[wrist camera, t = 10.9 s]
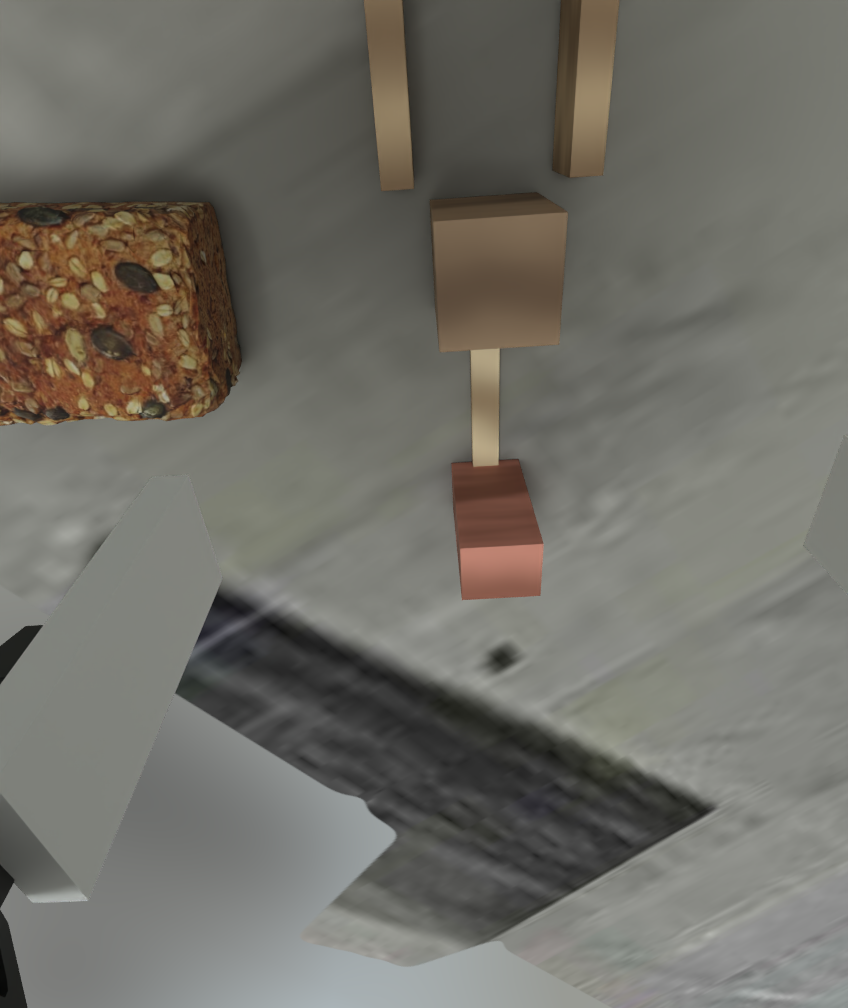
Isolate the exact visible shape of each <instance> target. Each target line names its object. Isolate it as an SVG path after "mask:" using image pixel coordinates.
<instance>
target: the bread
mask: <svg viewBox="0 0 848 1008" xmlns="http://www.w3.org/2000/svg"><path fill="white" fill-rule="evenodd" d="M236 335H237V328H236V320H235V316H234V312H233V309H232V307H231V298H230V292H229V288H228V284H227V279H226V266H225V257H224V252H223V247H222V243H221V238H220V232H219V227H218V221H217V218H216V215H215V211H214V208H213V207H212V205H211V204H210V203H209V202H196V203H193V202H123V203H106V202H73V203H20V202H14V203H0V426H2V425H10V424H15V423H19V422H20V423H26V424H30V425H31V424H33V423H35V422H37V423H40V424H43V425H54V424H58V423H61V422H64V421H67V422H72V421H77V420H83V419H101V418H108V417H110V418H113V419H115V420H122V421H137V420H148V419H161V420H164V421H170V420H176V419H182V418H194V417H203V416H204V415H205V414H206V413H209V412H211V411H214V410H215V409H217V408H218V407H219V406H220V405H221V404H222V403H223V402H224V400H225V397H227V396H228V395H229V393H230V388H231V387H232V386H235V384H236V383H237V382H238V379H237V378H236V376H237V375H239V374H240V372H239V369H240V366H241V362H242V359H241V353H240V346H239V344H238V342H237V336H236Z"/></svg>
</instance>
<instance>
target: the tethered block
mask: <svg viewBox="0 0 848 1008" xmlns="http://www.w3.org/2000/svg"><path fill="white" fill-rule="evenodd" d="M430 216H431V236H432V255H433V275H434V294H435V311H436V321H437V331H438V341H439V351H440V352H452V351H468V350H470V370H471V421H472V462H462V463H451V464H452V488H453V510H454V521H455V531H456V542H457V552H458V563H459V573H460V584H461V594H462V600H471V599H489V598H507V597H526V596H540V592H541V576H542V560H543V541H542V537H541V534H540V530H539V527H538V524H537V520H536V517H535V514H534V510H533V507H532V504H531V500H530V497H529V493H528V490H527V487H526V483H525V480H524V477H523V473H522V470H521V467H520V463H519V460H518V459H512V460H499V351H500V348H514V347H529V346H545V345H559V340H560V325H561V310H562V295H563V279H564V264H565V249H566V234H567V219H568V212H567V211H565V210H564V209H562V208H561V207H559V206H558V205H556V204H554V203H553V202H551V201H550V200H548V199H547V198H545V197H544V196H542V195H540V194H539V193H537V192H534V193H520V194H506V195H492V196H478V197H464V198H450V199H435V200H430Z"/></svg>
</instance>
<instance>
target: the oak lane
mask: <svg viewBox="0 0 848 1008" xmlns="http://www.w3.org/2000/svg"><path fill="white" fill-rule="evenodd" d="M364 7H365V18H366V29H367V40H368V51H369V62H370V73H371V84H372V95H373V106H374V117H375V128H376V139H377V150H378V161H379V172H380V183H381V191H391V190H405V189H414V172H413V156H412V140H411V124H410V108H409V92H408V76H407V61H406V45H405V29H404V13H403V0H364ZM618 9H619V0H561V12H560V31H559V51H558V70H557V90H556V110H555V129H554V149H553V168H552V170H553V171H555V172H557V173H560V174H562V175H565V176H567V177H569V178H573V177H587V176H601V175H603V171H604V160H605V149H606V138H607V128H608V117H609V106H610V95H611V85H612V74H613V63H614V52H615V42H616V31H617V20H618Z"/></svg>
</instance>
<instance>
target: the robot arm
mask: <svg viewBox="0 0 848 1008" xmlns="http://www.w3.org/2000/svg"><path fill="white" fill-rule="evenodd" d="M803 546H804V547H805V548H806V549H807V550H808V551H809V553H810V554H811V555H812V556H813V557H814V558H815V559H816V560H817V561H818V563H819V564H820V565H821V566H822V567H823V568H824V569H825V570H826V571H827V573H828V574H829V575H830V576H831V577H832V578H833V579H834V580H835V581H836V583H837V584H838V585H839V586H840V587H841V588H842V589H843V590H844V591H845V593H846V594H847V595H848V435H844V437H843V440H842V442H841V445H840V448H839V450H838V453H837V456H836V459H835V461H834V464H833V467H832V469H831V472H830V475H829V477H828V480H827V483H826V486H825V488H824V491H823V494H822V496H821V499H820V502H819V504H818V507H817V510H816V512H815V515H814V518H813V521H812V523H811V526H810V529H809V531H808V534H807V537H806V539H805V542H804V545H803ZM222 578H223V577H222V574H221V571H220V568H219V565H218V562H217V559H216V556H215V553H214V550H213V547H212V544H211V541H210V538H209V535H208V532H207V529H206V526H205V523H204V520H203V517H202V514H201V511H200V507H199V504H198V501H197V498H196V495H195V492H194V489H193V486H192V483H191V480H190V477H189V475H173V476H156V477H151V478H150V480H149V481H148V482H147V484H146V485H145V486H144V488H143V489H142V490H141V492H140V493H139V495H138V496H137V497H136V499H135V500H134V501H133V503H132V504H131V506H130V507H129V508H128V510H127V511H126V512H125V514H124V515H123V517H122V518H121V519H120V521H119V522H118V523H117V525H116V526H115V528H114V529H113V530H112V532H111V533H110V534H109V536H108V537H107V539H106V540H105V541H104V543H103V544H102V545H101V547H100V548H99V550H98V551H97V552H96V554H95V555H94V556H93V558H92V559H91V561H90V562H89V563H88V565H87V566H86V567H85V569H84V570H83V572H82V573H81V574H80V576H79V577H78V578H77V580H76V581H75V583H74V584H73V585H72V587H71V588H70V589H69V591H68V592H67V594H66V595H65V596H64V598H63V599H62V600H61V602H60V603H59V605H58V606H57V607H56V609H55V610H54V611H53V613H52V614H51V616H50V617H49V618H48V620H47V621H46V623H45V624H44V625H38V626H25V627H24V628H23V629H21V630H20V631H19V632H18V633H16V634H15V635H14V636H12V637H11V638H10V639H9V640H7V641H6V642H5V643H4V644H3V645H1V646H0V907H1V905H2V903H3V902H4V900H5V898H6V896H7V894H8V892H9V890H10V888H11V887H12V884H13V883H15V884H16V885H17V886H18V888H19V889H20V890H21V891H22V892H23V893H24V894H25V895H26V896H27V897H28V898H29V899H30V900H31V901H32V902H33V903H43V902H66V901H88V900H89V898H90V896H91V893H92V891H93V888H94V886H95V884H96V881H97V879H98V876H99V874H100V872H101V869H102V867H103V864H104V862H105V860H106V857H107V855H108V852H109V850H110V847H111V845H112V843H113V840H114V838H115V835H116V833H117V831H118V828H119V826H120V823H121V821H122V819H123V816H124V814H125V812H126V809H127V806H128V804H129V802H130V799H131V797H132V795H133V792H134V790H135V788H136V785H137V782H138V780H139V778H140V776H141V773H142V771H143V768H144V766H145V763H146V761H147V759H148V756H149V754H150V751H151V749H152V747H153V744H154V742H155V739H156V737H157V735H158V732H159V730H160V727H161V725H162V722H163V720H164V718H165V715H166V713H167V711H168V708H169V706H170V703H171V701H172V698H173V696H174V694H175V691H176V689H177V687H178V684H179V682H180V679H181V677H182V675H183V672H184V670H185V667H186V665H187V662H188V660H189V658H190V655H191V653H192V650H193V648H194V646H195V643H196V641H197V638H198V636H199V634H200V631H201V629H202V626H203V624H204V622H205V619H206V617H207V614H208V612H209V610H210V607H211V605H212V602H213V600H214V598H215V595H216V593H217V590H218V588H219V586H220V583H221V581H222ZM0 1008H27V1003H26V999H25V995H24V990H23V986H22V982H21V977H20V973H19V968H18V964H17V960H16V955H15V951H14V947H13V942H12V938H11V934H10V929H9V925H8V922H7V920H6V919H5V917H4V915H3V914H2V912H1V911H0Z"/></svg>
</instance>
